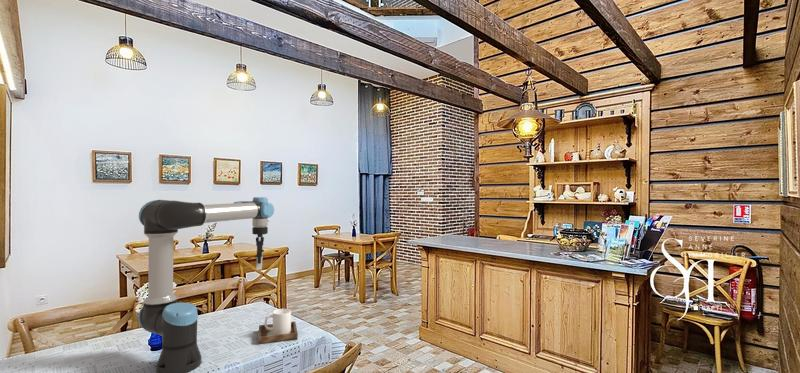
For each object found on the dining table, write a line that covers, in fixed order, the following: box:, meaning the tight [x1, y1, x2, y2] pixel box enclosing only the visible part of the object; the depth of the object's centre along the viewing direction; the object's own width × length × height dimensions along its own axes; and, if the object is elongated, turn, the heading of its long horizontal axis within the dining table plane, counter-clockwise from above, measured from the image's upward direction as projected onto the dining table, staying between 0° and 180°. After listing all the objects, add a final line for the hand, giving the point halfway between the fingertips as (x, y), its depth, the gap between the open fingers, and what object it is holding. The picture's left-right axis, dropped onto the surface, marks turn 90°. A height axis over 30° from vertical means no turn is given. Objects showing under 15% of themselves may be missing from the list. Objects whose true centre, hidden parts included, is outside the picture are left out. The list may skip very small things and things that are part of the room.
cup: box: [263, 308, 292, 335], centre depth 175 cm, size 8×12×10 cm
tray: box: [257, 321, 299, 345], centre depth 175 cm, size 17×16×3 cm
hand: (259, 266), depth 193 cm, fingers open, 13 cm apart
